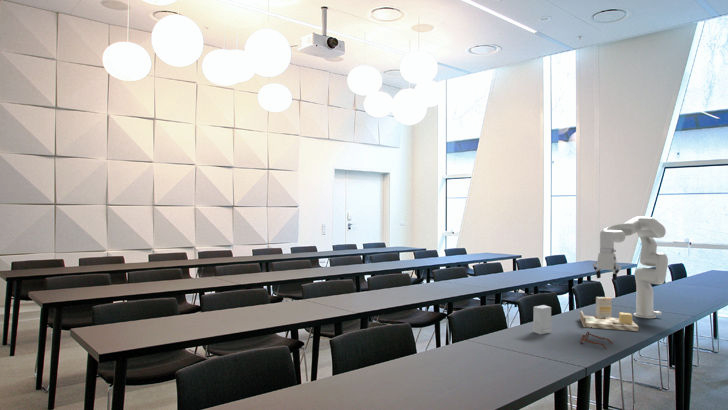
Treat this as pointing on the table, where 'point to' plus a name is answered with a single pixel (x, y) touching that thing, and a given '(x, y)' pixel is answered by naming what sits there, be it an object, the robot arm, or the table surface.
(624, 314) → the ochre block
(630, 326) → the cream sorting tray
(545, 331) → the skincare box
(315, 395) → the table surface
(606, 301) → the supplement box
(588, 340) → the glasses
